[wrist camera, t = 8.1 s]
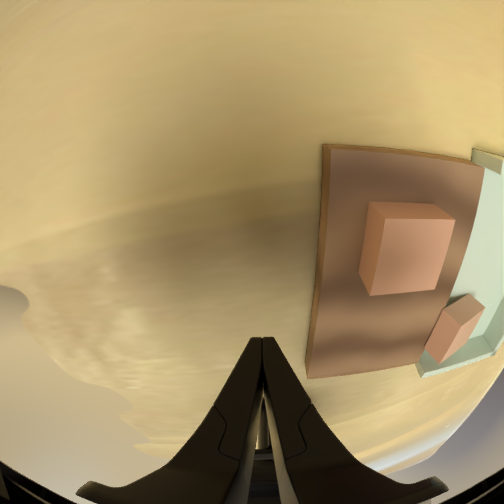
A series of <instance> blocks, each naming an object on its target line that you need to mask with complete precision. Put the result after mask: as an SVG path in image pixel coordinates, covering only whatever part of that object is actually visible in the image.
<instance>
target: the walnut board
mask: <svg viewBox="0 0 504 504" xmlns="http://www.w3.org/2000/svg"><path fill="white" fill-rule="evenodd" d="M484 171H485V168H484V167H482V166H480V165H478V164H476V163H473V162H471V161H469V160H464V159H459V158H454V157H448V156H442V155H436V154H430V153H423V152H415V151H408V150H399V149H390V148H379V147H368V146H353V145H333V144H323V163H322V192H321V212H320V229H319V243H318V255H317V267H316V278H315V288H314V297H313V306H312V314H311V323H310V330H309V338H308V345H307V352H306V359H305V367H306V374H307V379H312V378H324V377H333V376H342V375H350V374H358V373H365V372H371V371H377V370H383V369H389V368H394V367H399V366H404V365H409V364H414V363H418V361H419V359H420V357H421V356H422V354H423V352H424V350H425V349H424V347H425V345H426V343H427V341H428V339H429V337H430V335H431V333H432V331H433V329H434V327H435V325H436V323H437V321H438V319H439V317H440V315H441V313H442V310H443V309H445V306H446V304H447V302H448V299H449V297H450V294H451V292H452V289H453V287H454V284H455V282H456V279H457V276H458V274H459V271H460V268H461V265H462V262H463V259H464V256H465V253H466V250H467V246H468V243H469V240H470V236H471V232H472V229H473V225H474V221H475V217H476V213H477V209H478V204H479V199H480V194H481V189H482V184H483V178H484ZM369 202H403V203H426V204H435V205H437V206H438V207H439V208H441V209H442V210H443V211H445V212H446V213H447V214H449V215H450V216H451V217H452V218H454V219H455V224H454V228H453V232H452V236H451V239H450V243H449V246H448V250H447V253H446V257H445V260H444V263H443V266H442V269H441V272H440V275H439V278H438V281H437V284H436V287H435V289H433V290H425V291H415V292H406V293H396V294H385V295H373V296H370V295H369V293H368V291H367V289H366V287H365V285H364V283H363V281H362V279H361V277H360V275H359V273H358V271H359V266H360V260H361V254H362V248H363V242H364V235H365V228H366V221H367V213H368V205H369Z"/></svg>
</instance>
